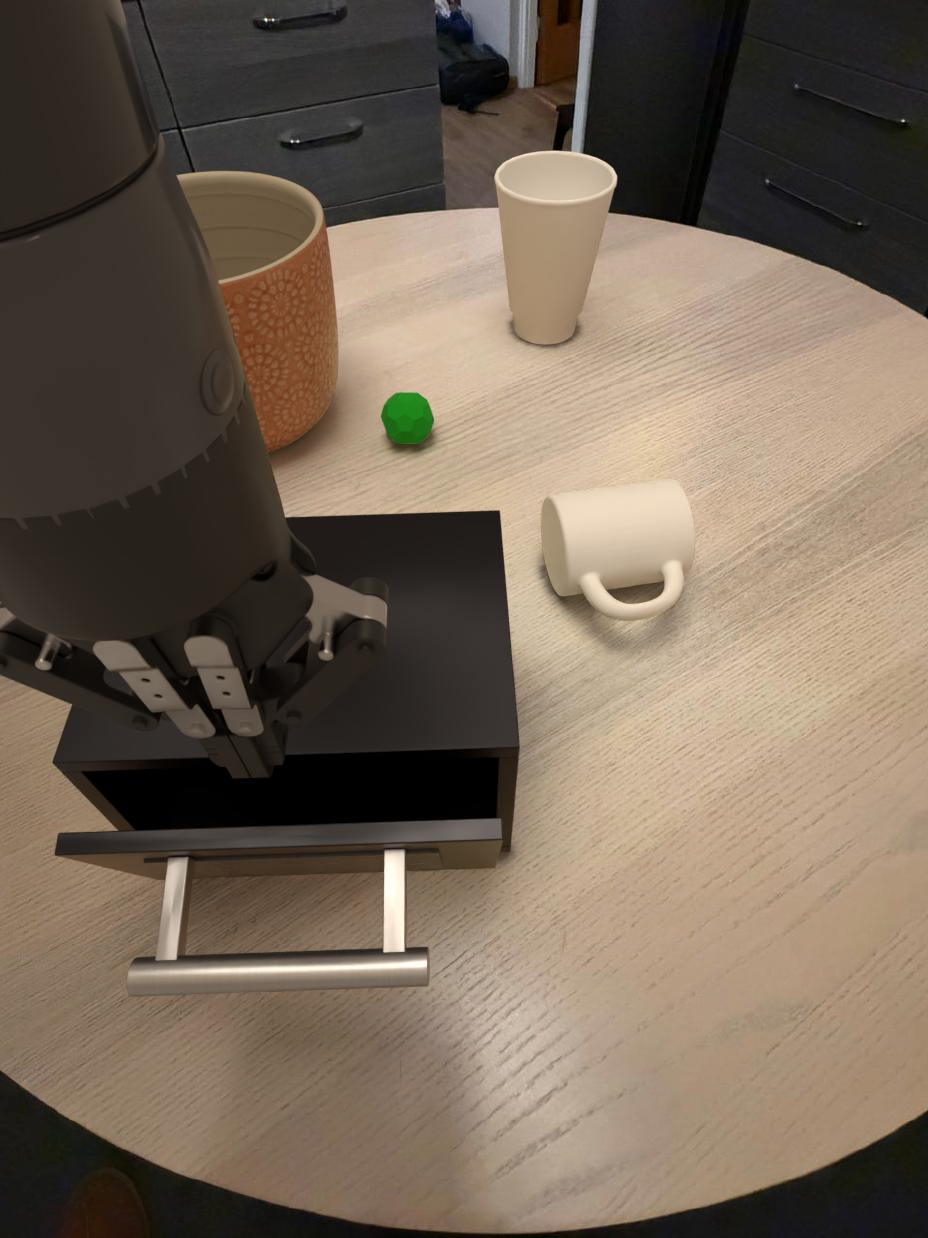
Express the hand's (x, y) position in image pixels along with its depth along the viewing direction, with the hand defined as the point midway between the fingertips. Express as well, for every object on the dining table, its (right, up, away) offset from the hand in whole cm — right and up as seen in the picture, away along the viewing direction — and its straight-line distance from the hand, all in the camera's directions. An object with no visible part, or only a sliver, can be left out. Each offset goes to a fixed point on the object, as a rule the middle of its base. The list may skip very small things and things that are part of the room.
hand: (256, 756), depth 30 cm
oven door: (0, -12, +13) cm, 17 cm away
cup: (+18, +39, +54) cm, 69 cm away
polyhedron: (+3, +23, +43) cm, 49 cm away
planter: (-13, +26, +45) cm, 53 cm away
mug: (+21, +8, +30) cm, 38 cm away
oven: (0, -4, +22) cm, 22 cm away
